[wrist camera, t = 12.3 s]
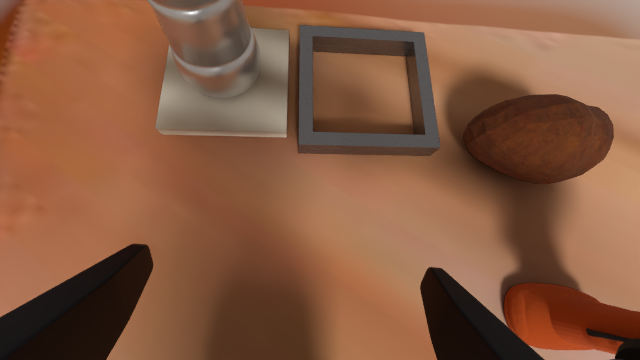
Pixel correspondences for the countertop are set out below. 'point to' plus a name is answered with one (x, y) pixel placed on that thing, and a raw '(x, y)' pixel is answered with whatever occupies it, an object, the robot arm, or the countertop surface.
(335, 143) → the collar
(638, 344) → the toy drill
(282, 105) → the board
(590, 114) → the potato
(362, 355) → the countertop surface
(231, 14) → the plastic bottle
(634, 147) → the countertop surface
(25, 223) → the countertop surface
